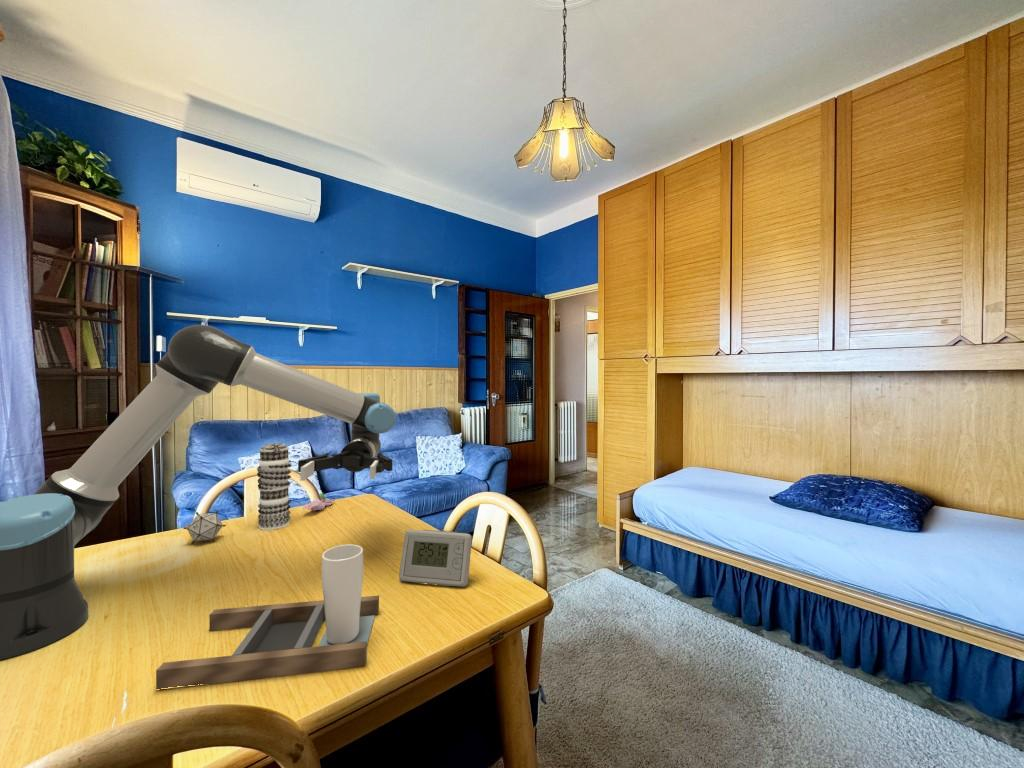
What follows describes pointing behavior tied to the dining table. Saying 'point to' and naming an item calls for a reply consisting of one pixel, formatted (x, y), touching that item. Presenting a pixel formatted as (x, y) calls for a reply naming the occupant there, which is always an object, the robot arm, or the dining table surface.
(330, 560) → the drinking glass
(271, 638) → the tray
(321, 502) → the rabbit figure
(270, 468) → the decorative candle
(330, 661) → the brown wooden divided tray
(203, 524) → the game die
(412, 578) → the digital clock
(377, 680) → the dining table surface
